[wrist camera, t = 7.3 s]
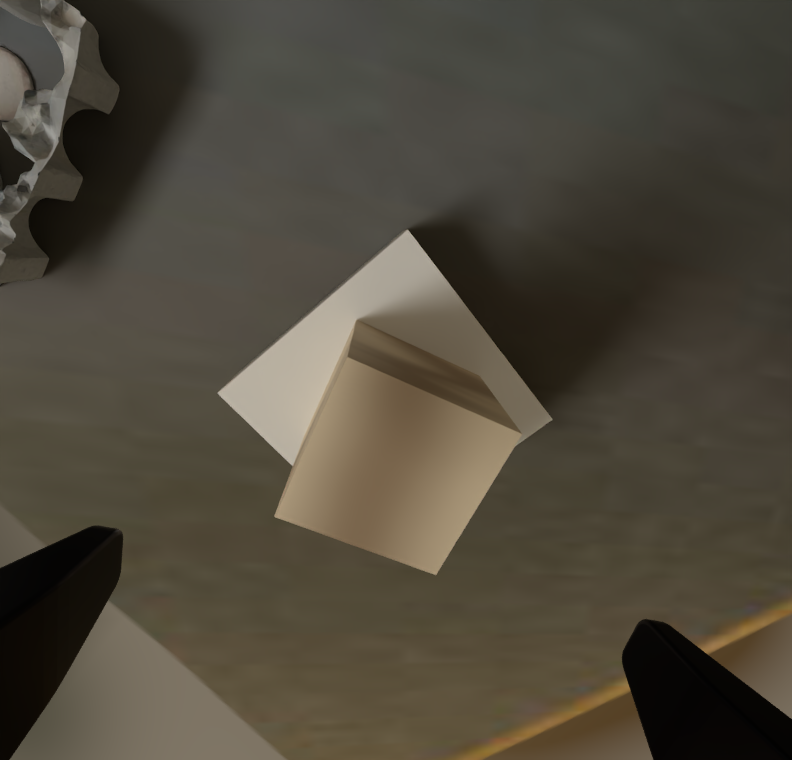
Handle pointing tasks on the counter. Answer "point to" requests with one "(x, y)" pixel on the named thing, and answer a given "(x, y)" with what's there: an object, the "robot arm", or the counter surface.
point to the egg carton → (45, 126)
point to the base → (389, 312)
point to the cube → (397, 451)
